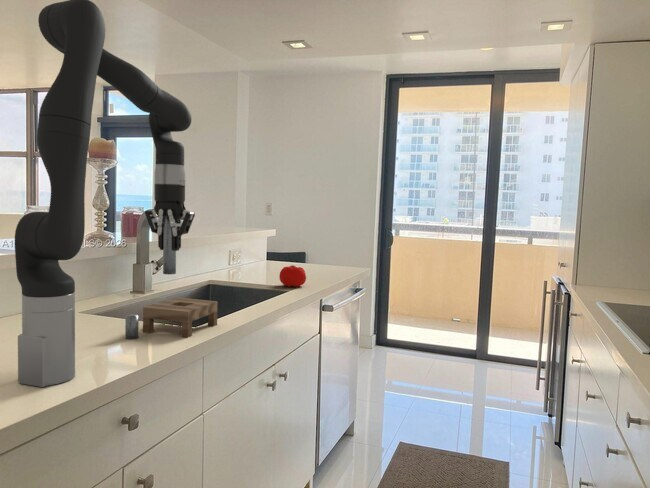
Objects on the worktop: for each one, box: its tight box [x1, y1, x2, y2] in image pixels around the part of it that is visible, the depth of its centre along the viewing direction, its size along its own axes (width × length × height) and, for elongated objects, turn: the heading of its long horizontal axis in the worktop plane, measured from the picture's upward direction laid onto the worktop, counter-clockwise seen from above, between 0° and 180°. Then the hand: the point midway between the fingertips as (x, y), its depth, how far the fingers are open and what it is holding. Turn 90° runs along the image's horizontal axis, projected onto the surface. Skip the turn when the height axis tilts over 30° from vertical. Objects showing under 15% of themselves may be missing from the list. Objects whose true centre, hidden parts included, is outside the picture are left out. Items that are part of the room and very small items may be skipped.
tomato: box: [278, 264, 307, 288], centre depth 227 cm, size 11×12×9 cm
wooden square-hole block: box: [142, 297, 219, 338], centre depth 146 cm, size 16×14×7 cm
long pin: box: [162, 216, 177, 275], centre depth 132 cm, size 3×3×15 cm
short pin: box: [124, 313, 139, 340], centre depth 134 cm, size 3×3×6 cm
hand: (169, 249), depth 132 cm, fingers closed on long pin, 3 cm apart
